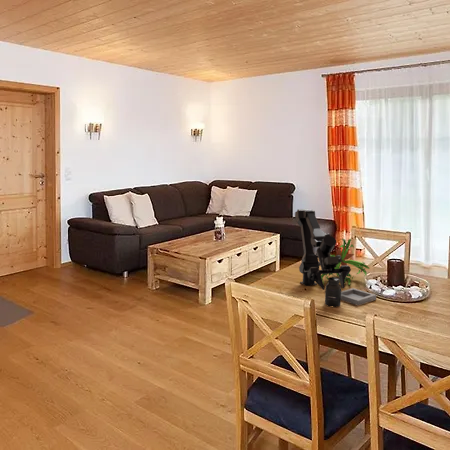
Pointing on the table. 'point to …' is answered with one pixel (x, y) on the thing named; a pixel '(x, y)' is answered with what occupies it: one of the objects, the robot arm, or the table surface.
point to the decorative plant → (347, 261)
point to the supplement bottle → (333, 292)
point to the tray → (357, 296)
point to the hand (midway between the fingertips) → (333, 288)
